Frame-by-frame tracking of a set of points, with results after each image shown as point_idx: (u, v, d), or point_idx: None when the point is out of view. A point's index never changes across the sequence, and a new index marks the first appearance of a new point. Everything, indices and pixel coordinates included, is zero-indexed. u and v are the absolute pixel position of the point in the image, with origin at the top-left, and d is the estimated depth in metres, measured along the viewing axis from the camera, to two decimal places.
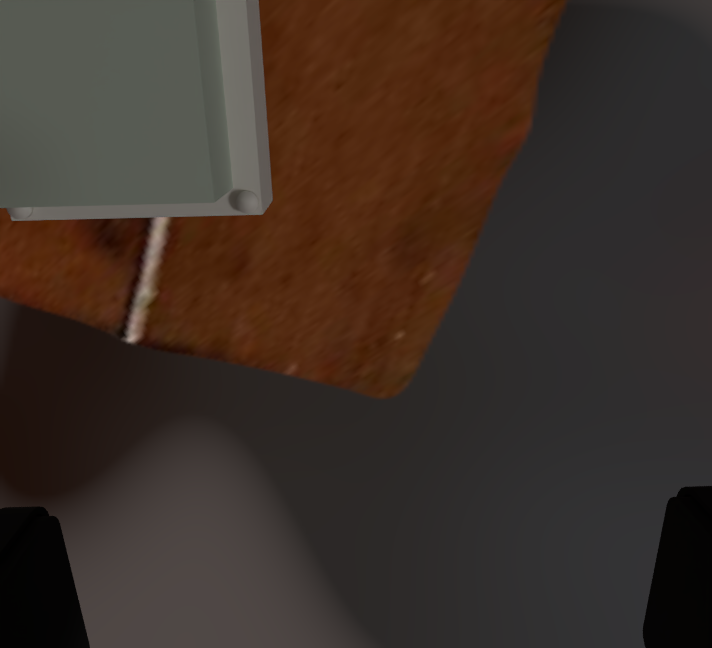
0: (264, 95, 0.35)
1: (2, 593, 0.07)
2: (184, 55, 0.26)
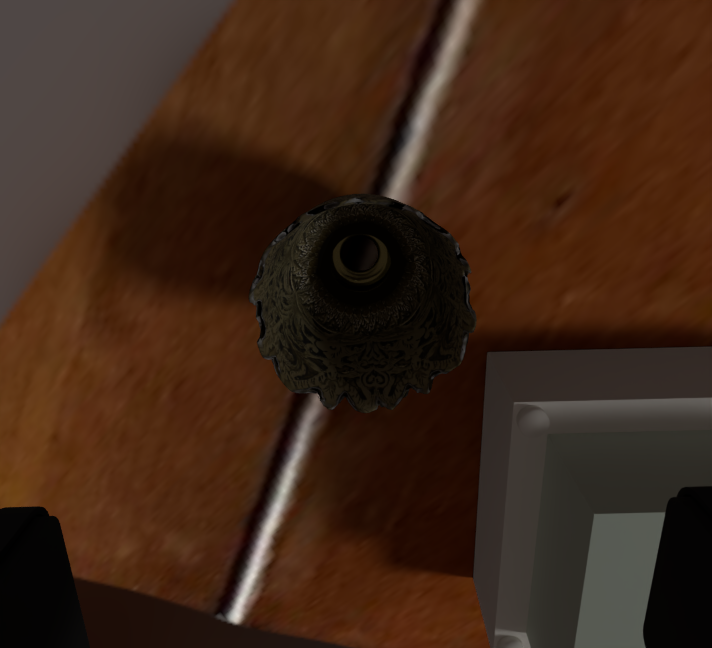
0: None
1: (2, 593, 0.07)
2: None
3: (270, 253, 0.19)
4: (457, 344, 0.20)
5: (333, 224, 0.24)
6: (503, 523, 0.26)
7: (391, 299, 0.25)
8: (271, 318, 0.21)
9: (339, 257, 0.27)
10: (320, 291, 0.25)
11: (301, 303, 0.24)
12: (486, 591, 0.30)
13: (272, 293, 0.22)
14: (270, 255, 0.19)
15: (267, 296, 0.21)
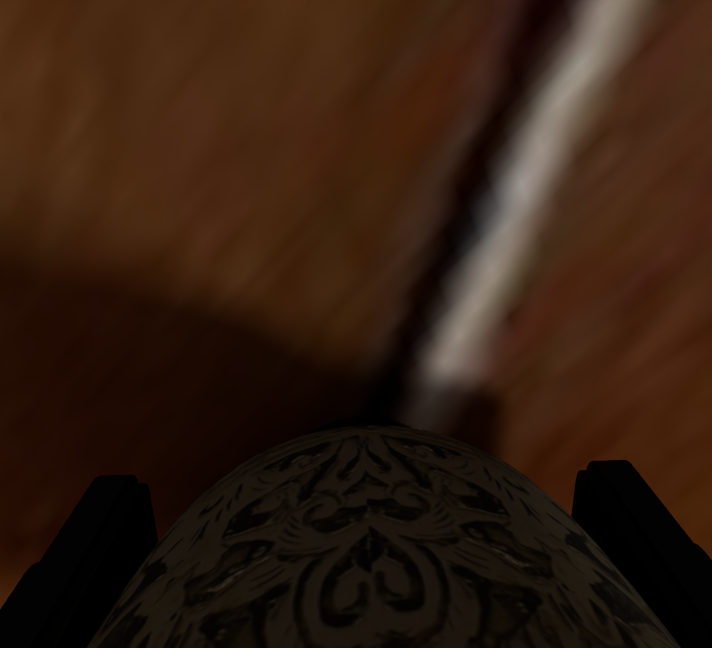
0: None
1: (113, 549, 0.08)
2: None
3: None
4: None
5: None
6: None
7: None
8: None
9: None
10: None
11: None
12: None
13: None
14: None
15: None
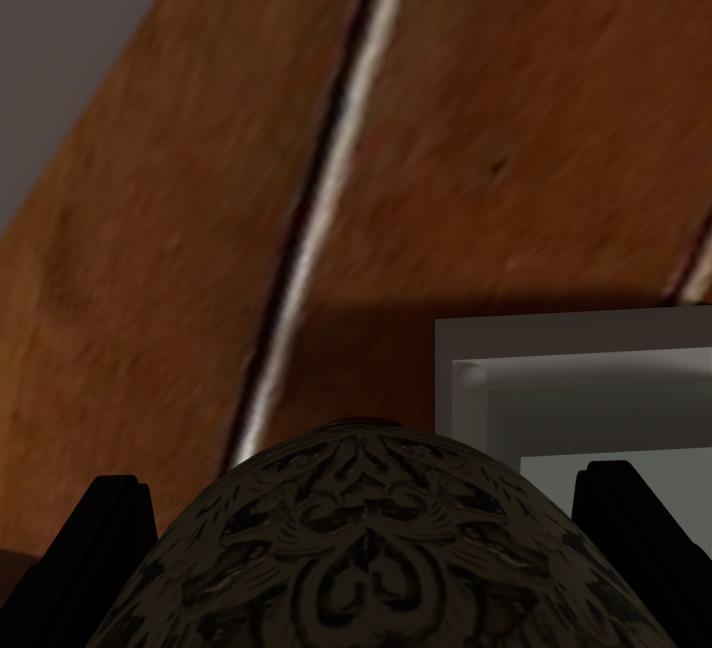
0: None
1: (113, 548, 0.08)
2: None
3: None
4: None
5: None
6: None
7: None
8: None
9: None
10: None
11: None
12: None
13: None
14: None
15: None
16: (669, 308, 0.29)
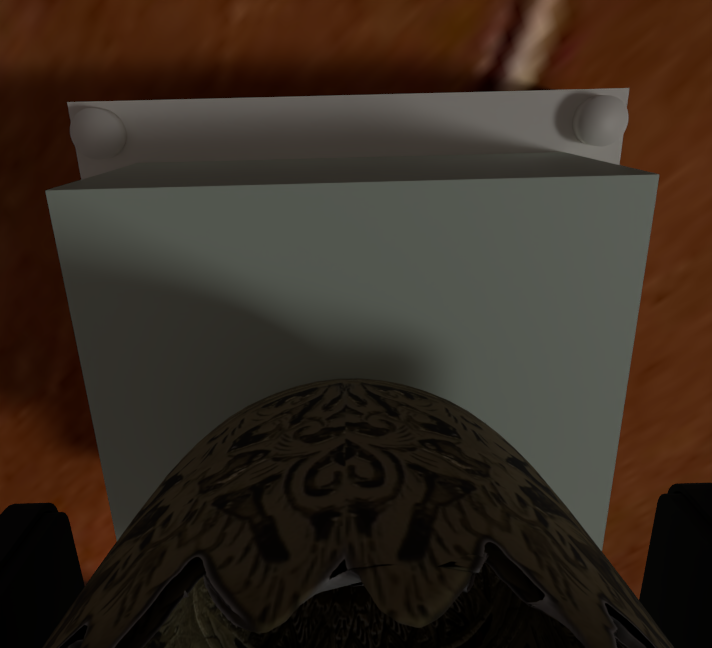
0: None
1: (13, 588, 0.07)
2: (593, 403, 0.12)
3: None
4: None
5: None
6: None
7: None
8: None
9: None
10: None
11: (207, 609, 0.10)
12: None
13: None
14: None
15: None
16: None
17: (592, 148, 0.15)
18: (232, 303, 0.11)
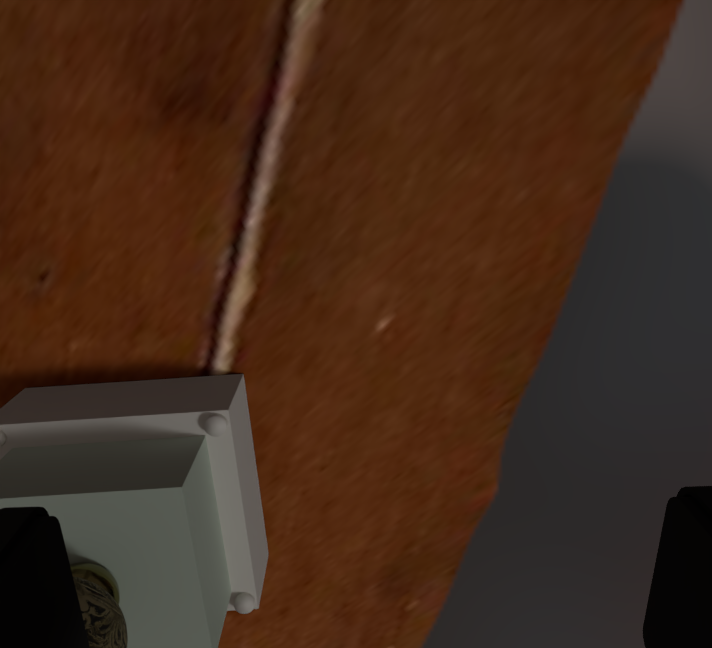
0: (257, 480, 0.40)
1: (2, 593, 0.07)
2: (184, 565, 0.30)
3: None
4: None
5: None
6: None
7: None
8: None
9: None
10: None
11: None
12: None
13: None
14: None
15: None
16: (204, 377, 0.38)
17: None
18: None
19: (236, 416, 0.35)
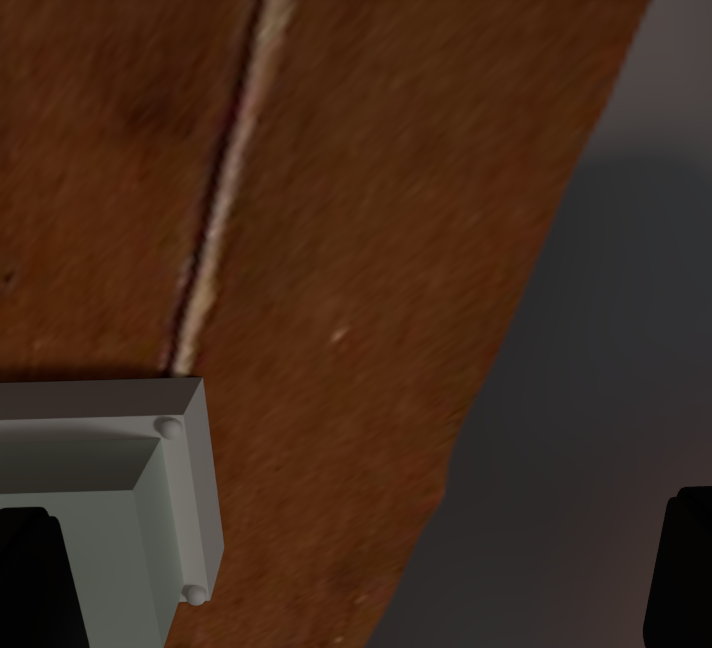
0: (214, 478, 0.42)
1: (2, 593, 0.07)
2: (134, 562, 0.32)
3: None
4: None
5: None
6: None
7: None
8: None
9: None
10: None
11: None
12: None
13: None
14: None
15: None
16: (164, 379, 0.39)
17: None
18: None
19: (192, 419, 0.36)
